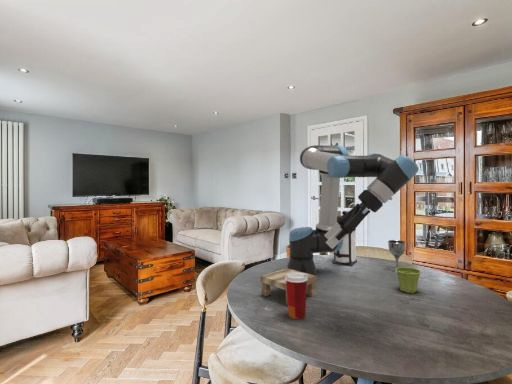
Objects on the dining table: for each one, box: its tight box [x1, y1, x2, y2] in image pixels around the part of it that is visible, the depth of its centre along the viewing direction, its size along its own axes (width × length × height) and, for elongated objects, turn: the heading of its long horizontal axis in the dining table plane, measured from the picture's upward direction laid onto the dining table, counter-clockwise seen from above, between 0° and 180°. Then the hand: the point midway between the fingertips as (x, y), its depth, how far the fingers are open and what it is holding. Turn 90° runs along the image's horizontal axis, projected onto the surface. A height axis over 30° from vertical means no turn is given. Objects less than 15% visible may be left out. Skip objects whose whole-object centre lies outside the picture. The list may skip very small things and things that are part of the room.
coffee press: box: [331, 210, 358, 267], centre depth 163 cm, size 17×16×30 cm
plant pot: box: [395, 266, 422, 294], centre depth 120 cm, size 9×9×9 cm
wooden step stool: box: [260, 267, 317, 306], centre depth 117 cm, size 16×16×8 cm
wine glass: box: [387, 239, 406, 273], centre depth 149 cm, size 8×8×15 cm
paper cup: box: [285, 272, 308, 320], centre depth 98 cm, size 8×8×14 cm
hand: (327, 241), depth 96 cm, fingers open, 13 cm apart
